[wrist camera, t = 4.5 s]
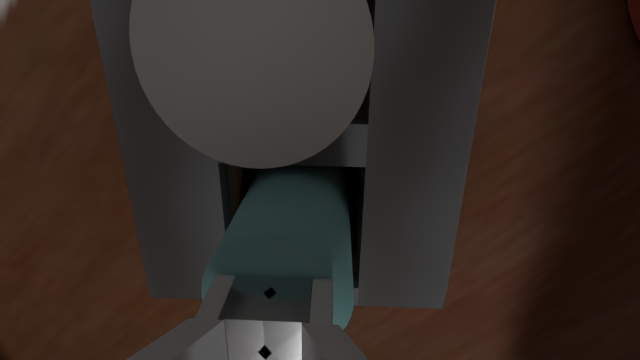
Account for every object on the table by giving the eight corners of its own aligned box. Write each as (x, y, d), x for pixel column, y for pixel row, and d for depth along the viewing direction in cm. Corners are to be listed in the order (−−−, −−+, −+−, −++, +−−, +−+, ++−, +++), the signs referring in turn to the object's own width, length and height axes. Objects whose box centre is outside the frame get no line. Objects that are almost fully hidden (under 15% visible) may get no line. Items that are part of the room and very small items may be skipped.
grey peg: (357, -27, 13) (383, -94, 5) (352, 93, 14) (366, 171, 7) (239, -28, 13) (105, -93, 5) (247, 91, 14) (150, 166, 7)
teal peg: (349, 139, 16) (357, 235, 9) (346, 220, 18) (350, 359, 11) (257, 137, 17) (192, 230, 9) (262, 218, 18) (209, 352, 11)
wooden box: (445, -50, 17) (530, -105, 9) (414, 213, 22) (452, 313, 14) (176, -50, 17) (52, -104, 10) (206, 207, 22) (140, 300, 15)
